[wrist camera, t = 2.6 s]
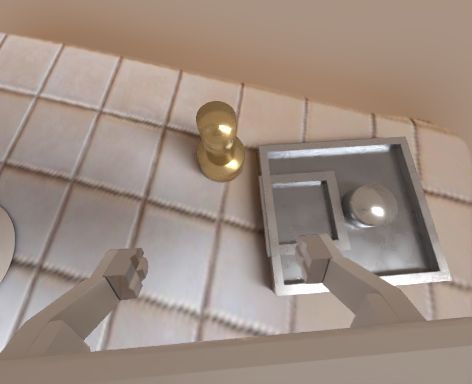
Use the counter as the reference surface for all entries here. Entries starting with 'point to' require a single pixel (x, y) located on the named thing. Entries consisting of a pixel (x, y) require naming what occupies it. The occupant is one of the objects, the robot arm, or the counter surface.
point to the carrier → (348, 210)
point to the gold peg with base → (219, 142)
